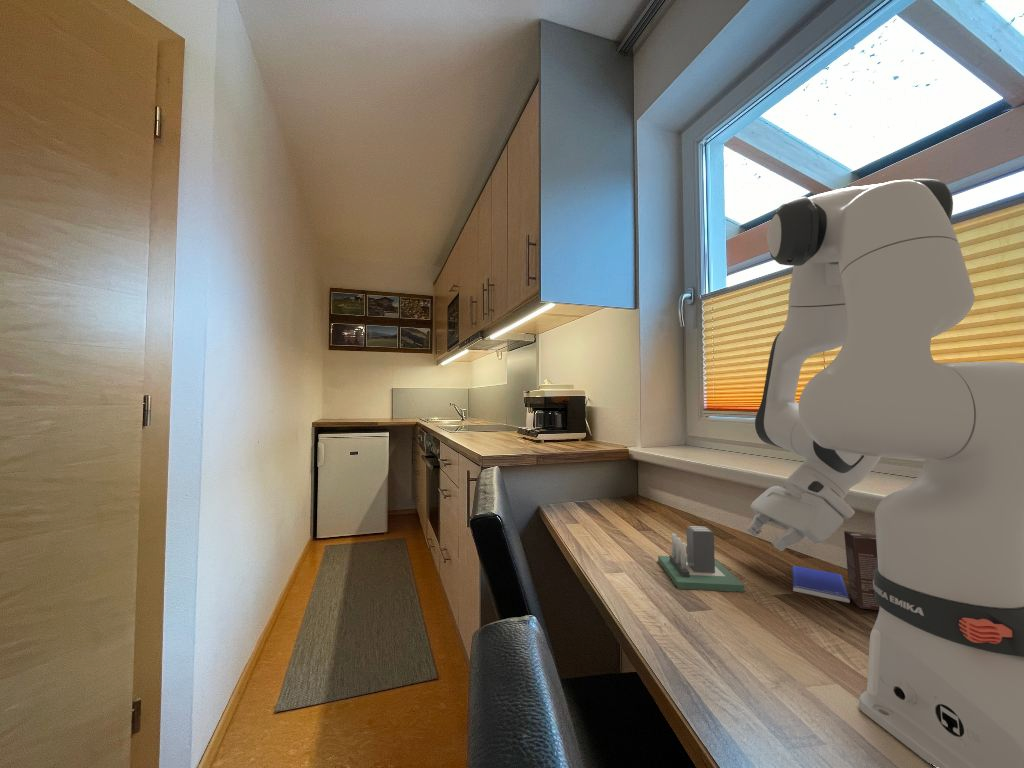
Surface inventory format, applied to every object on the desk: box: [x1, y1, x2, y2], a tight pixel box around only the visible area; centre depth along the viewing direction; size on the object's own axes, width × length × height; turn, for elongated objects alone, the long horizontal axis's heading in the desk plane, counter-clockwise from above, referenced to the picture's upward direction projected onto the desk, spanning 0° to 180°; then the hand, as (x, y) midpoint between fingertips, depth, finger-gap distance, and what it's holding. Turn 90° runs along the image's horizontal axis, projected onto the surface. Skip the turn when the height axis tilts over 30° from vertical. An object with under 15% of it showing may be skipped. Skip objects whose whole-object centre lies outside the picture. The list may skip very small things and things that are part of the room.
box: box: [843, 530, 880, 611], centre depth 68 cm, size 6×4×12 cm
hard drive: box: [791, 565, 851, 604], centre depth 76 cm, size 2×8×12 cm
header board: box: [657, 533, 746, 593], centre depth 81 cm, size 14×12×7 cm
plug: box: [686, 525, 716, 573], centre depth 81 cm, size 4×4×8 cm
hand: (762, 539), depth 80 cm, fingers open, 8 cm apart
